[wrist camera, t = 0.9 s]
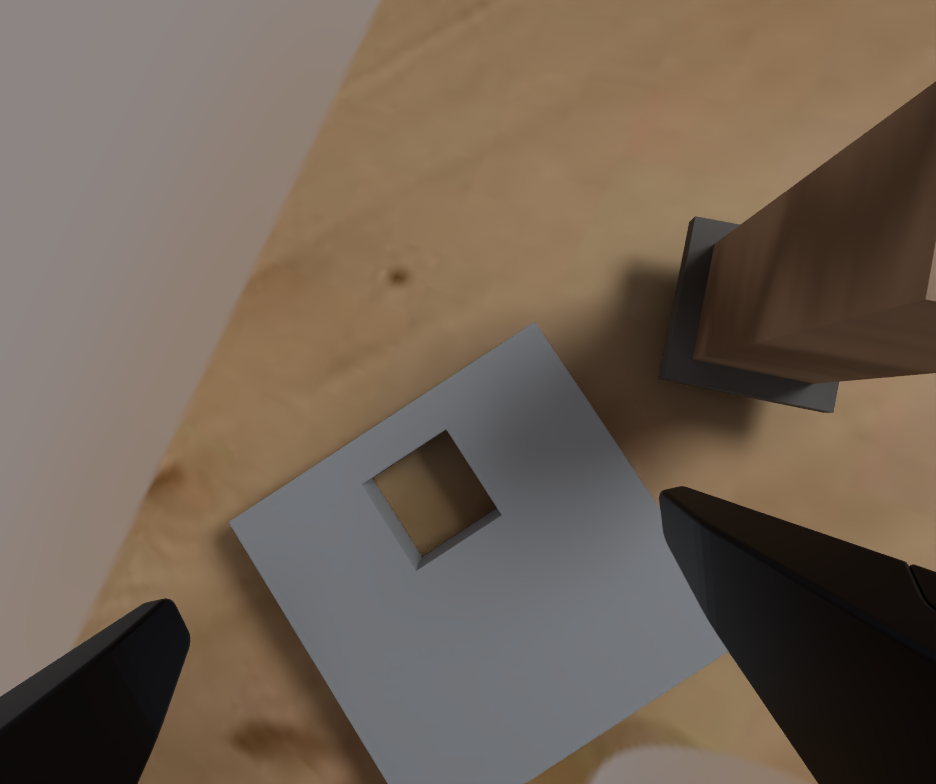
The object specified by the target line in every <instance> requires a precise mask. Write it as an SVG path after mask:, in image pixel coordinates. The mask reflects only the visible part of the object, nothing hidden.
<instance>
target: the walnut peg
mask: <svg viewBox="0 0 936 784" xmlns="http://www.w3.org/2000/svg"><path fill="white" fill-rule="evenodd" d="M929 373H936V82H934V83H933V84H932V85H930V86H929V87H928V88H926V89H925V90H924V91H922V92H921V93H919V94H918V95H917V96H915V97H914V98H913V99H911V100H910V101H909V102H907V103H906V104H904V105H903V106H902V107H900V108H899V109H898V110H896V111H895V112H894V113H892V114H891V115H889V116H888V117H887V118H885V119H884V120H883V121H881V122H880V123H879V124H877V125H876V126H874V127H873V128H872V129H870V130H869V131H868V132H866V133H865V134H864V135H862V136H861V137H859V138H858V139H857V140H855V141H854V142H853V143H851V144H850V145H849V146H847V147H846V148H844V149H843V150H842V151H840V152H839V153H838V154H836V155H835V156H834V157H832V158H831V159H829V160H828V161H827V162H825V163H824V164H823V165H821V166H820V167H819V168H817V169H816V170H814V171H813V172H812V173H810V174H809V175H808V176H806V177H805V178H804V179H802V180H801V181H799V182H798V183H797V184H795V185H794V186H793V187H791V188H790V189H789V190H787V191H786V192H784V193H783V194H782V195H780V196H779V197H778V198H776V199H775V200H774V201H772V202H771V203H770V204H768V205H767V206H765V207H764V208H763V209H761V210H760V211H759V212H757V213H756V214H755V215H753V216H752V217H750V218H749V219H748V220H746V221H745V222H744V223H742V224H741V225H738V224H733V223H728V222H723V221H717V220H712V219H707V218H701V217H696V216H695V217H694V218H693V219H692V220H691V221H690V222H689V226H688V231H687V236H686V241H685V247H684V252H683V257H682V262H681V267H680V272H679V277H678V282H677V288H676V293H675V298H674V303H673V308H672V313H671V318H670V323H669V329H668V334H667V339H666V344H665V349H664V354H663V359H662V364H661V370H660V375H659V379H661V380H666V381H671V382H676V383H681V384H685V385H690V386H695V387H700V388H705V389H710V390H715V391H720V392H725V393H730V394H735V395H739V396H744V397H749V398H754V399H759V400H764V401H769V402H774V403H779V404H784V405H789V406H793V407H798V408H803V409H808V410H813V411H818V412H823V413H830V412H834V406H835V401H836V395H837V390H838V384H839V381H850V380H861V379H873V378H884V377H895V376H906V375H918V374H929Z"/></svg>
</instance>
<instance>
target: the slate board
mask: <svg viewBox="0 0 936 784" xmlns="http://www.w3.org/2000/svg"><path fill="white" fill-rule="evenodd" d="M445 430H447V431H448V433H449V434H450V436H451V437H452V439H453V440H454V442H455V444H456V445H457V447H458V448H459V450H460V451H461V453H462V454H463V456H464V457H465V459H466V461H467V462H468V464H469V465H470V467H471V468H472V470H473V471H474V473H475V474H476V476H477V478H478V479H479V481H480V482H481V484H482V485H483V487H484V488H485V490H486V491H487V493H488V495H489V496H490V498H491V499H492V501H493V502H494V504H495V505H496V507H497V508H496V509H495V510H493V511H492V512H490V513H489V514H487V515H486V516H484V517H483V518H481V519H480V520H478V521H477V522H475V523H473V524H472V525H470V526H469V527H467V528H466V529H464V530H463V531H461V532H460V533H458V534H457V535H455V536H454V537H452V538H450V539H449V540H447V541H446V542H444V543H443V544H441V545H440V546H438V547H437V548H435V549H434V550H432V551H431V552H429V553H428V554H426V555H424V556H423V557H422V556H421V554H420V553H419V551H418V550H417V548H416V546H415V545H414V543H413V542H412V540H411V539H410V537H409V535H408V534H407V532H406V531H405V529H404V527H403V526H402V524H401V523H400V521H399V520H398V518H397V516H396V515H395V513H394V512H393V510H392V508H391V507H390V505H389V504H388V502H387V501H386V499H385V497H384V496H383V494H382V493H381V491H380V489H379V488H378V486H377V485H376V483H375V482H374V480H373V477H375V476H376V475H378V474H379V473H381V472H382V471H384V470H385V469H387V468H389V467H390V466H392V465H393V464H395V463H396V462H398V461H399V460H401V459H402V458H404V457H405V456H407V455H408V454H410V453H411V452H413V451H415V450H416V449H418V448H419V447H421V446H422V445H424V444H425V443H427V442H428V441H430V440H431V439H433V438H434V437H436V436H437V435H439V434H441V433H442V432H444V431H445ZM229 524H230V525H231V527H232V529H233V530H234V532H235V533H236V535H237V537H238V538H239V540H240V542H241V543H242V545H243V547H244V548H245V550H246V552H247V553H248V555H249V556H250V558H251V560H252V561H253V563H254V565H255V566H256V568H257V570H258V571H259V573H260V575H261V576H262V578H263V580H264V581H265V583H266V584H267V586H268V588H269V589H270V591H271V593H272V594H273V596H274V598H275V599H276V601H277V603H278V604H279V606H280V607H281V609H282V611H283V612H284V614H285V616H286V617H287V619H288V621H289V622H290V624H291V626H292V627H293V629H294V630H295V632H296V634H297V635H298V637H299V639H300V640H301V642H302V644H303V645H304V647H305V649H306V650H307V652H308V653H309V655H310V657H311V658H312V660H313V662H314V663H315V665H316V667H317V668H318V670H319V672H320V673H321V675H322V677H323V678H324V680H325V681H326V683H327V685H328V686H329V688H330V690H331V691H332V693H333V695H334V696H335V698H336V700H337V701H338V703H339V704H340V706H341V708H342V709H343V711H344V713H345V714H346V716H347V718H348V719H349V721H350V723H351V724H352V726H353V727H354V729H355V731H356V732H357V734H358V736H359V737H360V739H361V741H362V742H363V744H364V746H365V747H366V749H367V751H368V752H369V754H370V755H371V757H372V759H373V760H374V762H375V764H376V765H377V767H378V769H379V770H380V772H381V774H382V775H383V777H384V778H385V780H386V782H387V783H388V784H525V783H527V782H528V781H530V780H532V779H533V778H535V777H536V776H538V775H539V774H541V773H542V772H544V771H545V770H547V769H548V768H550V767H552V766H553V765H555V764H556V763H558V762H559V761H561V760H562V759H564V758H565V757H567V756H568V755H570V754H572V753H573V752H575V751H576V750H578V749H579V748H581V747H582V746H584V745H585V744H587V743H588V742H590V741H592V740H593V739H595V738H596V737H598V736H599V735H601V734H602V733H604V732H605V731H607V730H608V729H610V728H611V727H613V726H615V725H616V724H618V723H619V722H621V721H622V720H624V719H625V718H627V717H628V716H630V715H631V714H633V713H635V712H636V711H638V710H639V709H641V708H642V707H644V706H645V705H647V704H648V703H650V702H651V701H653V700H655V699H656V698H658V697H659V696H661V695H662V694H664V693H665V692H667V691H668V690H670V689H671V688H673V687H675V686H676V685H678V684H679V683H681V682H682V681H684V680H685V679H687V678H688V677H690V676H691V675H693V674H695V673H696V672H698V671H699V670H701V669H702V668H704V667H705V666H707V665H708V664H710V663H711V662H713V661H715V660H716V659H718V658H719V657H721V656H722V655H724V654H725V653H727V652H728V650H727V648H726V647H725V646H724V644H723V643H722V641H721V640H720V638H719V637H718V635H717V634H716V632H715V631H714V629H713V627H712V626H711V624H710V623H709V621H708V620H707V618H706V616H705V614H704V612H703V611H702V609H701V607H700V605H699V603H698V601H697V599H696V598H695V596H694V594H693V592H692V590H691V588H690V586H689V584H688V583H687V581H686V579H685V577H684V575H683V573H682V571H681V569H680V568H679V566H678V564H677V562H676V560H675V558H674V556H673V554H672V553H671V551H670V549H669V547H668V545H667V543H666V540H665V538H664V534H663V528H662V519H661V510H660V508H659V506H658V505H657V503H656V502H655V500H654V499H653V497H652V496H651V494H650V493H649V491H648V490H647V488H646V487H645V485H644V484H643V482H642V481H641V479H640V478H639V476H638V475H637V473H636V472H635V470H634V469H633V467H632V466H631V464H630V463H629V461H628V460H627V458H626V457H625V455H624V454H623V452H622V451H621V449H620V448H619V446H618V445H617V443H616V442H615V440H614V439H613V437H612V436H611V434H610V433H609V431H608V430H607V428H606V427H605V425H604V424H603V422H602V421H601V419H600V418H599V417H598V415H597V414H596V412H595V411H594V409H593V408H592V406H591V405H590V403H589V402H588V400H587V399H586V397H585V396H584V394H583V393H582V391H581V390H580V388H579V387H578V385H577V384H576V382H575V381H574V379H573V378H572V376H571V375H570V373H569V372H568V370H567V369H566V367H565V366H564V364H563V363H562V361H561V360H560V358H559V357H558V355H557V354H556V352H555V351H554V349H553V348H552V346H551V345H550V343H549V342H548V340H547V339H546V337H545V336H544V334H543V333H542V331H541V330H540V328H539V327H538V325H537V324H536V322H534V323H532V324H531V325H529V326H528V327H526V328H524V329H523V330H521V331H520V332H518V333H517V334H515V335H514V336H512V337H511V338H509V339H508V340H506V341H505V342H503V343H502V344H500V345H498V346H497V347H495V348H494V349H492V350H491V351H489V352H488V353H486V354H485V355H483V356H482V357H480V358H479V359H477V360H476V361H474V362H472V363H471V364H469V365H468V366H466V367H465V368H463V369H462V370H460V371H459V372H457V373H456V374H454V375H453V376H451V377H450V378H448V379H447V380H445V381H443V382H442V383H440V384H439V385H437V386H436V387H434V388H433V389H431V390H430V391H428V392H427V393H425V394H424V395H422V396H421V397H419V398H417V399H416V400H414V401H413V402H411V403H410V404H408V405H407V406H405V407H404V408H402V409H401V410H399V411H398V412H396V413H395V414H393V415H391V416H390V417H388V418H387V419H385V420H384V421H382V422H381V423H379V424H378V425H376V426H375V427H373V428H372V429H370V430H369V431H367V432H365V433H364V434H362V435H361V436H359V437H358V438H356V439H355V440H353V441H352V442H350V443H349V444H347V445H346V446H344V447H343V448H341V449H340V450H338V451H336V452H335V453H333V454H332V455H330V456H329V457H327V458H326V459H324V460H323V461H321V462H320V463H318V464H317V465H315V466H314V467H312V468H310V469H309V470H307V471H306V472H304V473H303V474H301V475H300V476H298V477H297V478H295V479H294V480H292V481H291V482H289V483H288V484H286V485H284V486H283V487H281V488H280V489H278V490H277V491H275V492H274V493H272V494H271V495H269V496H268V497H266V498H265V499H263V500H262V501H260V502H258V503H257V504H255V505H254V506H252V507H251V508H249V509H248V510H246V511H245V512H243V513H242V514H240V515H239V516H237V517H236V518H234V519H232V520H231V521H229Z"/></svg>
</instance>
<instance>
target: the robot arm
mask: <svg viewBox="0 0 936 784" xmlns="http://www.w3.org/2000/svg"><path fill="white" fill-rule="evenodd" d="M659 501H660V510H661V519H662V528H663V534H664V538H665V540H666V543H667V545H668V547H669V549H670V551H671V553H672V554H673V556H674V558H675V560H676V562H677V564H678V566H679V568H680V569H681V571H682V573H683V575H684V577H685V579H686V581H687V583H688V584H689V586H690V588H691V590H692V592H693V594H694V596H695V598H696V599H697V601H698V603H699V605H700V607H701V609H702V611H703V612H704V614H705V616H706V618H707V620H708V621H709V623H710V624H711V626H712V627H713V629H714V631H715V632H716V634H717V635H718V637H719V638H720V640H721V641H722V643H723V644H724V646H725V647H726V648H727V650H728V651H729V653H730V654H731V656H732V657H733V659H734V660H735V662H736V663H737V665H738V666H739V668H740V669H741V671H742V672H743V674H744V675H745V676H746V678H747V679H748V681H749V682H750V684H751V685H752V687H753V688H754V690H755V691H756V693H757V694H758V696H759V697H760V699H761V700H762V701H763V703H764V704H765V706H766V707H767V709H768V710H769V712H770V713H771V715H772V716H773V718H774V719H775V721H776V722H777V724H778V725H779V727H780V728H781V729H782V731H783V732H784V734H785V735H786V737H787V738H788V740H789V741H790V743H791V744H792V746H793V747H794V749H795V750H796V752H797V753H798V755H799V756H800V757H801V759H802V760H803V762H804V763H805V765H806V766H807V768H808V769H809V771H810V772H811V774H812V775H813V777H814V778H815V780H816V781H817V782H818V784H936V572H934V571H932V570H929V569H926V568H923V567H920V566H917V565H910V566H909V565H908V564H907V563H906V562H905V561H902V560H899V559H896V558H893V557H890V556H887V555H884V554H881V553H878V552H875V551H873V550H870V549H867V548H864V547H861V546H858V545H855V544H852V543H849V542H846V541H843V540H840V539H837V538H834V537H831V536H829V535H826V534H823V533H820V532H817V531H814V530H811V529H808V528H805V527H802V526H799V525H796V524H793V523H790V522H787V521H785V520H782V519H779V518H776V517H773V516H770V515H767V514H764V513H761V512H758V511H755V510H752V509H749V508H746V507H743V506H740V505H738V504H735V503H732V502H729V501H726V500H723V499H720V498H717V497H714V496H711V495H708V494H705V493H702V492H699V491H696V490H694V489H691V488H688V487H684V486H680V487H675V488H671V489H666V490H663V491H661V493H660V496H659ZM189 647H190V634H189V631H188V629H187V627H186V625H185V623H184V621H183V619H182V617H181V615H180V613H179V611H178V609H177V607H176V605H175V603H174V602H173V601H172V600H170V599H167V598H165V599H160V600H155V601H151V602H147V603H144V604H142V605H141V606H139V607H137V608H136V609H134V610H133V611H131V612H130V613H128V614H127V615H125V616H124V617H122V618H121V619H119V620H117V621H116V622H114V623H113V624H111V625H110V626H108V627H107V628H105V629H104V630H102V631H101V632H99V633H98V634H96V635H94V636H93V637H91V638H90V639H88V640H87V641H85V642H84V643H82V644H81V645H79V646H78V647H76V648H74V649H73V650H71V651H70V652H68V653H67V654H65V655H64V656H62V657H61V658H59V659H58V660H56V661H55V662H53V663H52V664H50V665H48V666H47V667H45V668H44V669H42V670H41V671H39V672H38V673H36V674H35V675H33V676H32V677H30V678H29V679H27V680H25V681H24V682H22V683H21V684H19V685H18V686H16V687H15V688H13V689H11V690H10V691H9V692H7V693H6V694H4V695H2V696H1V697H0V784H138V781H139V779H140V777H141V775H142V772H143V770H144V768H145V766H146V763H147V761H148V759H149V757H150V754H151V752H152V750H153V747H154V745H155V742H156V740H157V738H158V735H159V732H160V730H161V727H162V724H163V722H164V719H165V716H166V713H167V710H168V707H169V704H170V702H171V699H172V696H173V693H174V690H175V687H176V684H177V682H178V679H179V676H180V673H181V670H182V667H183V664H184V661H185V659H186V656H187V653H188V650H189Z"/></svg>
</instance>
